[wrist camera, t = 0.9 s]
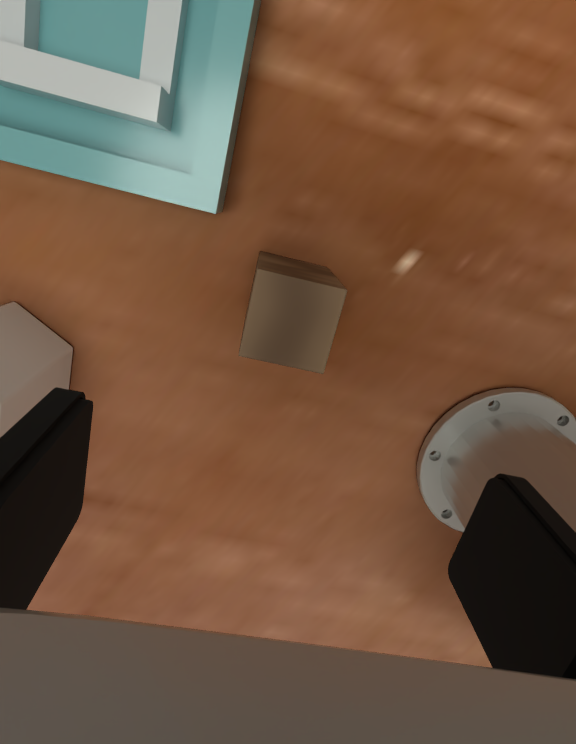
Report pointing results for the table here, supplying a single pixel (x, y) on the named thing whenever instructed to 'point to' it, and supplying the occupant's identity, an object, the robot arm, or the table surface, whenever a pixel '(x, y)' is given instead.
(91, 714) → the robot arm
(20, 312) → the jar
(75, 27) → the candle dish
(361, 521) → the table surface
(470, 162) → the table surface
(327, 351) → the brown wooden block
